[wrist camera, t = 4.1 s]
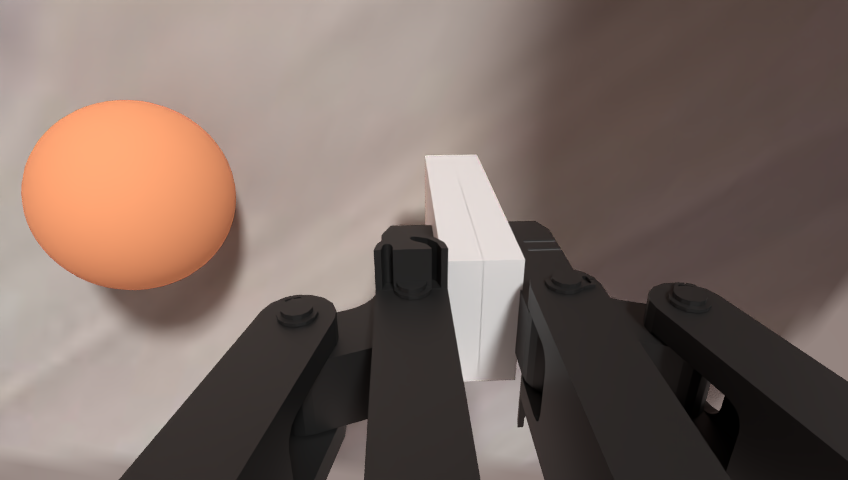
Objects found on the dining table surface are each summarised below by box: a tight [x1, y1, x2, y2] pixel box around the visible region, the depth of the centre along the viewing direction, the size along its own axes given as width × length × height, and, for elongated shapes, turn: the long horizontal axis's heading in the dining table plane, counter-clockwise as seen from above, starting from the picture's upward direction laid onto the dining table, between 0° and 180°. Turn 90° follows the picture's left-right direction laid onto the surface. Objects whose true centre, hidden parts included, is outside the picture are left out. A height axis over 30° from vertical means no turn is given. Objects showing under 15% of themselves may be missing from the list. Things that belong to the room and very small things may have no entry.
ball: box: [21, 100, 236, 290], centre depth 16 cm, size 6×6×6 cm
